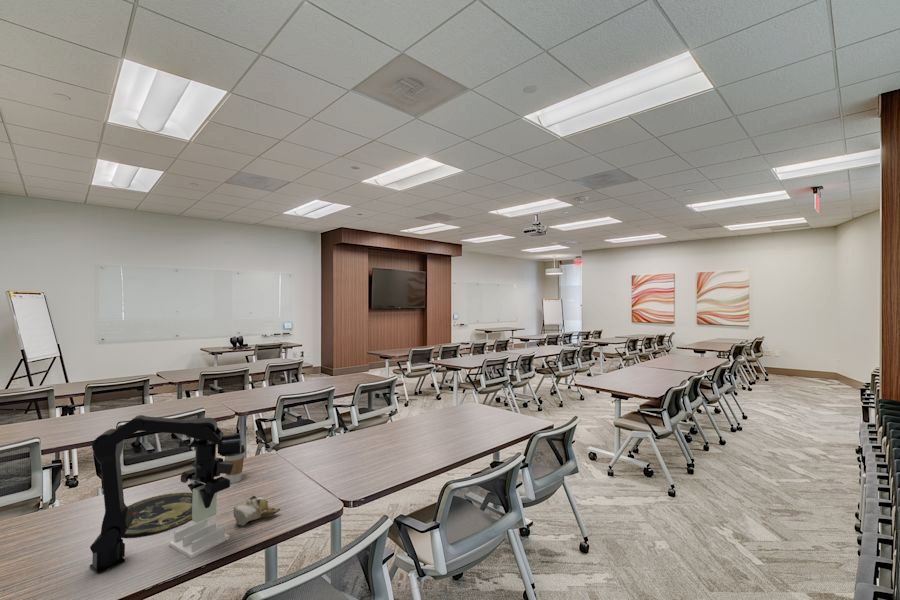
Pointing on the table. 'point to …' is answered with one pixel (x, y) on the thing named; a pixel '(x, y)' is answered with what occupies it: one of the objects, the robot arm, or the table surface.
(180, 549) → the dish rack
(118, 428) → the robot arm
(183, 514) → the decorative plate
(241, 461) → the coffee cup
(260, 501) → the ceramic sculpture
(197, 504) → the sage tile
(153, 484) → the table surface
